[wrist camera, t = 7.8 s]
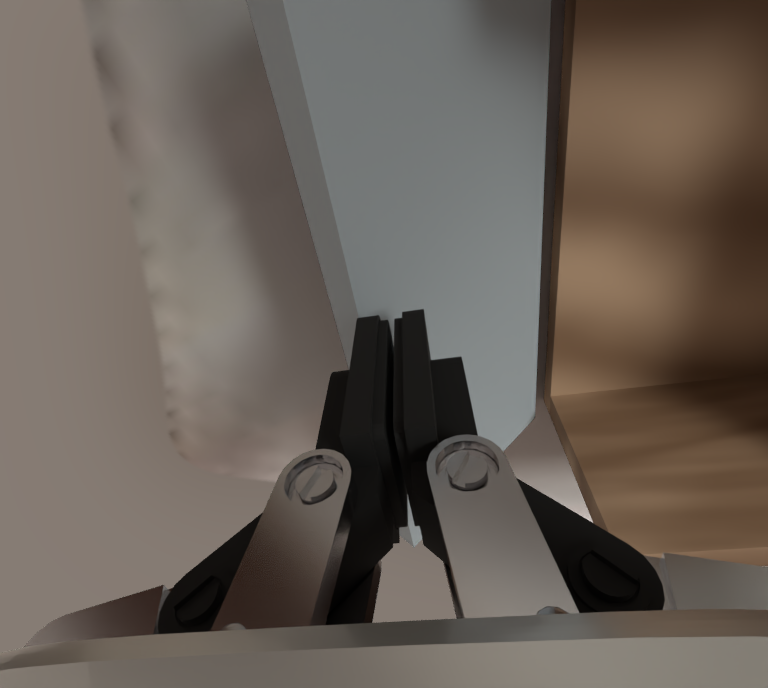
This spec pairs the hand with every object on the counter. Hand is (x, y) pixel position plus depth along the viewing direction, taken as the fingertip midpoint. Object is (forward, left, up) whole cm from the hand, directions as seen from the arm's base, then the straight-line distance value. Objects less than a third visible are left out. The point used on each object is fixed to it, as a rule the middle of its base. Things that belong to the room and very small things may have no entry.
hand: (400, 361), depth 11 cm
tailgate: (0, +5, -8) cm, 9 cm away
